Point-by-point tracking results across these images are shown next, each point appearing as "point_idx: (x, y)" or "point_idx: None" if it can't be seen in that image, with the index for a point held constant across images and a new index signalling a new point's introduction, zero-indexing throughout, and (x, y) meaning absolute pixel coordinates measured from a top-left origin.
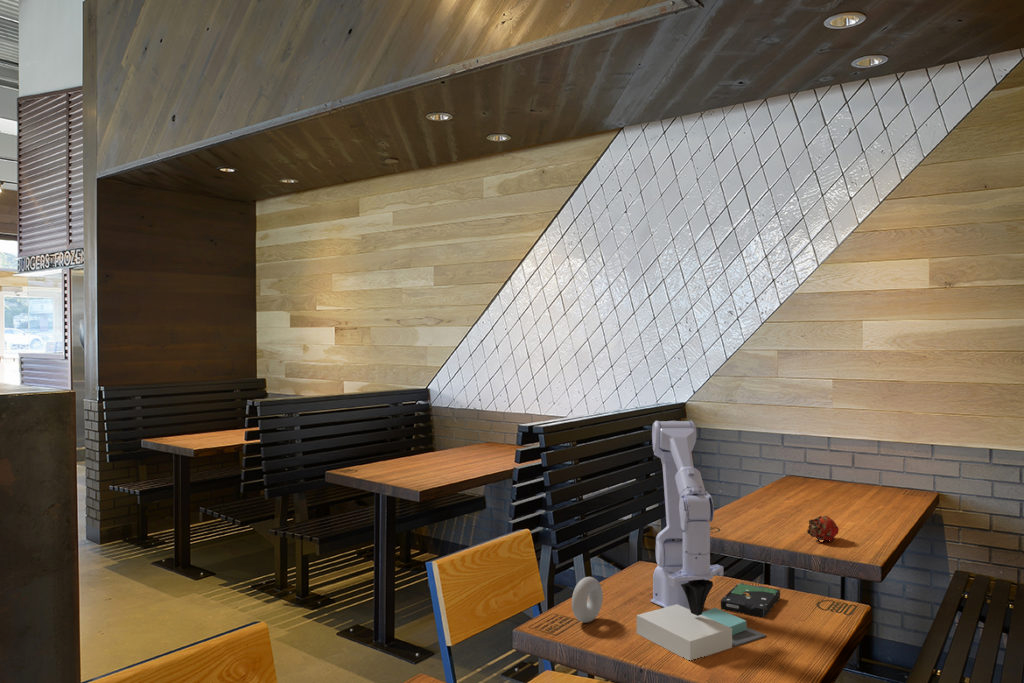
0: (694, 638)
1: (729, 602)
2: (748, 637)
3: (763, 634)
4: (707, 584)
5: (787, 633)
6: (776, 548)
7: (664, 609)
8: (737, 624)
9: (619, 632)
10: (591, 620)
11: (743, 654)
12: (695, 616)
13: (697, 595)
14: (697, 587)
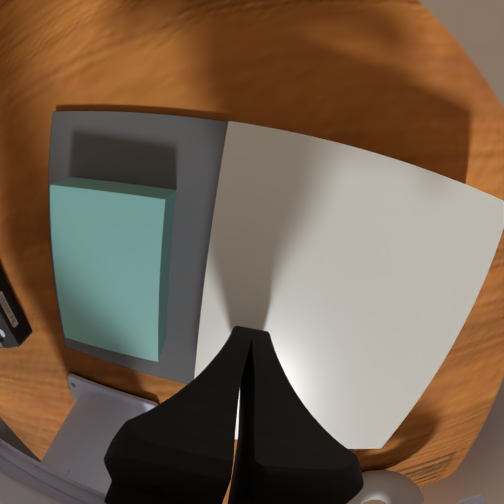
0: (480, 205)
1: (6, 322)
2: (112, 133)
3: (55, 119)
4: (215, 474)
5: (4, 95)
6: None
7: None
8: (98, 189)
9: None
10: (372, 471)
11: (264, 56)
12: None
13: (315, 421)
14: (357, 479)
